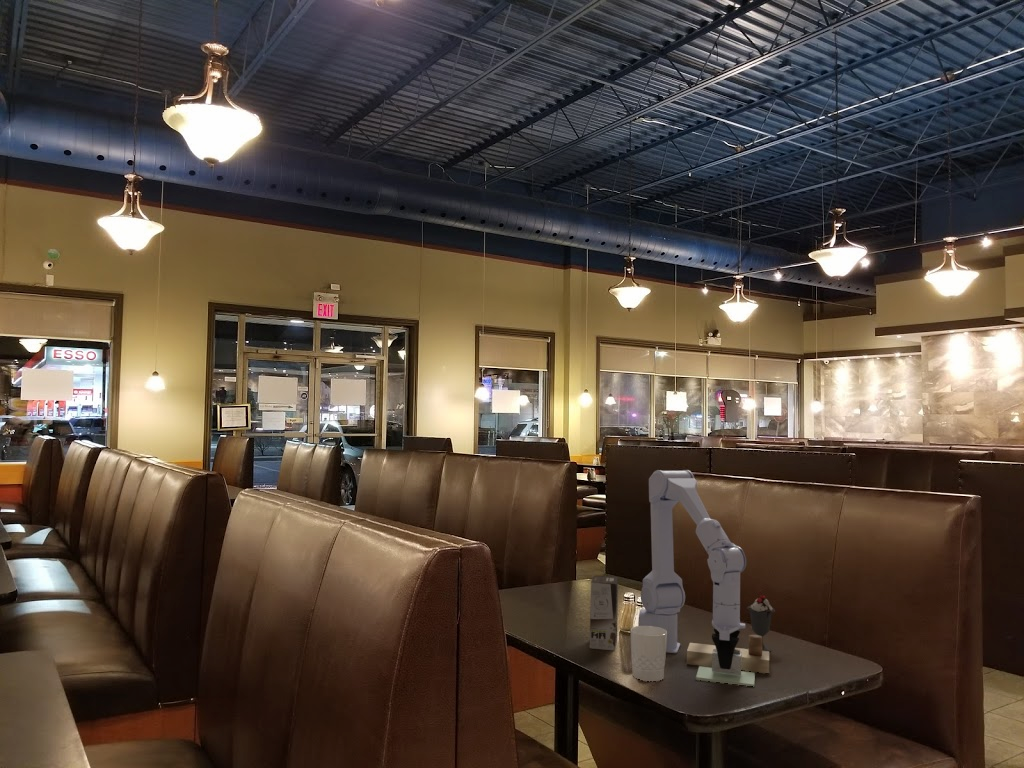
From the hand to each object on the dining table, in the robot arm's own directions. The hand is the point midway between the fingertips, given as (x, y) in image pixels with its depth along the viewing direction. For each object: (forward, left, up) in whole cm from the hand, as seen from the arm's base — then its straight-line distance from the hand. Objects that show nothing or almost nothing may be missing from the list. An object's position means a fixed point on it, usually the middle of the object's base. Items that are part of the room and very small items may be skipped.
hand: (725, 665), depth 166 cm
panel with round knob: (0, +10, -3) cm, 10 cm away
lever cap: (0, 0, -1) cm, 1 cm away
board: (0, 0, -3) cm, 3 cm away
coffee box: (-30, +14, -3) cm, 33 cm away
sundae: (+7, +25, -3) cm, 26 cm away
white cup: (-16, -6, -3) cm, 17 cm away
